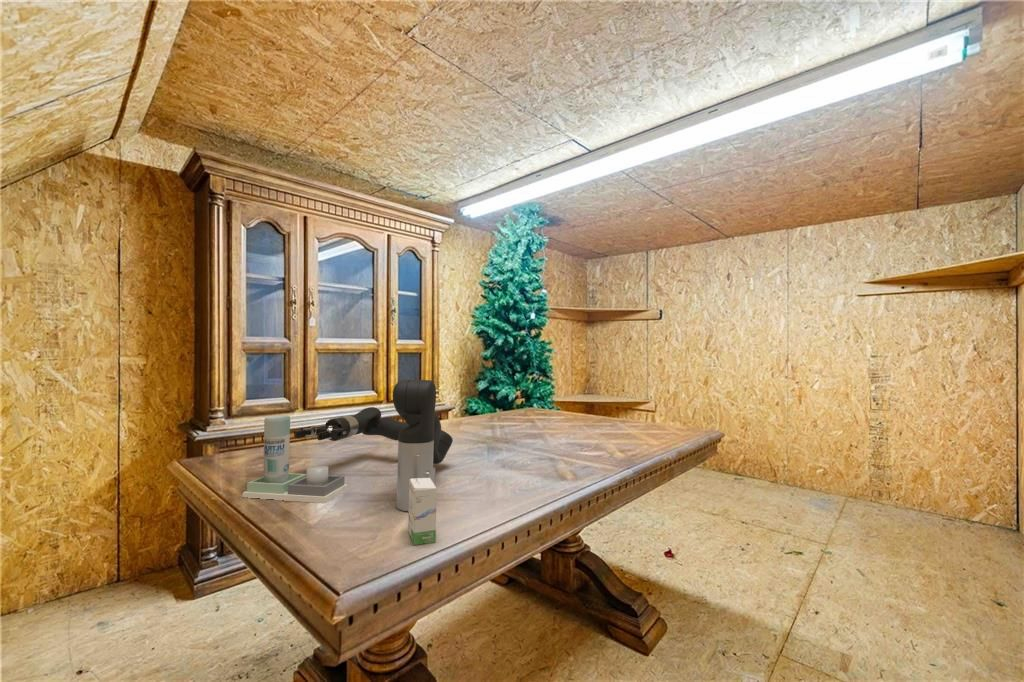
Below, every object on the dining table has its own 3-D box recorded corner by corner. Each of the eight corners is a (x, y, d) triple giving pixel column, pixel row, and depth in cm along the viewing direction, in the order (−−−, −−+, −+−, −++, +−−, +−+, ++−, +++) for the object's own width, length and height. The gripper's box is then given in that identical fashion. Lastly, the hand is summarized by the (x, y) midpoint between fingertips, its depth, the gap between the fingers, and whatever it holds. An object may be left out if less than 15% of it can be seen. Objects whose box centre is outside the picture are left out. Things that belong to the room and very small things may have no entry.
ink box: (436, 542, 92) (437, 486, 92) (412, 546, 90) (414, 489, 90) (429, 527, 100) (430, 476, 100) (407, 530, 98) (408, 478, 98)
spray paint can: (291, 483, 126) (293, 414, 127) (284, 490, 120) (286, 418, 120) (267, 484, 125) (269, 415, 125) (259, 491, 118) (260, 418, 119)
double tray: (347, 489, 127) (348, 463, 127) (325, 503, 115) (326, 474, 115) (272, 485, 129) (273, 459, 130) (242, 498, 118) (243, 470, 118)
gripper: (359, 440, 147) (325, 450, 131) (324, 437, 151) (288, 446, 135) (359, 418, 147) (326, 425, 132) (325, 415, 151) (288, 422, 136)
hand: (306, 436), depth 134 cm, fingers open, 8 cm apart
